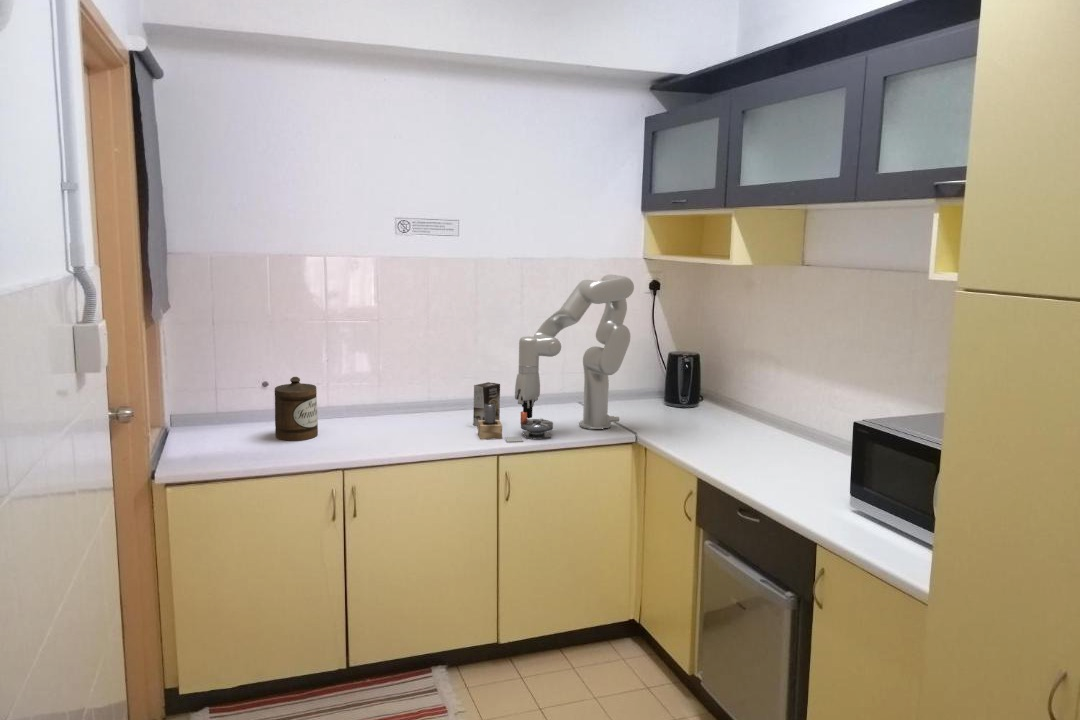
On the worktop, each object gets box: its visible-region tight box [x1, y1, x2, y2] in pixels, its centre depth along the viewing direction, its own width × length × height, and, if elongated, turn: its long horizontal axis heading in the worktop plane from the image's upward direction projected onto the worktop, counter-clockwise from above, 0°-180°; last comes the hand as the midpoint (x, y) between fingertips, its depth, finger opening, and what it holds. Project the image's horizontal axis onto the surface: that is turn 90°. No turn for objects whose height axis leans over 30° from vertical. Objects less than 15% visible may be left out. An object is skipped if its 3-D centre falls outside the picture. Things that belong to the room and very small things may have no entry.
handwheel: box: [520, 410, 554, 432], centre depth 294 cm, size 12×12×6 cm
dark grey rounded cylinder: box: [485, 403, 496, 425], centre depth 292 cm, size 4×4×12 cm
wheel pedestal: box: [522, 430, 552, 440], centre depth 295 cm, size 9×9×3 cm
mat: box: [504, 436, 524, 443], centre depth 288 cm, size 6×6×1 cm
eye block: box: [477, 420, 503, 440], centre depth 292 cm, size 8×8×5 cm
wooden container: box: [274, 376, 319, 442], centre depth 286 cm, size 15×15×22 cm
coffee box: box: [472, 381, 501, 427], centre depth 308 cm, size 9×6×16 cm
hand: (527, 417), depth 296 cm, fingers closed
